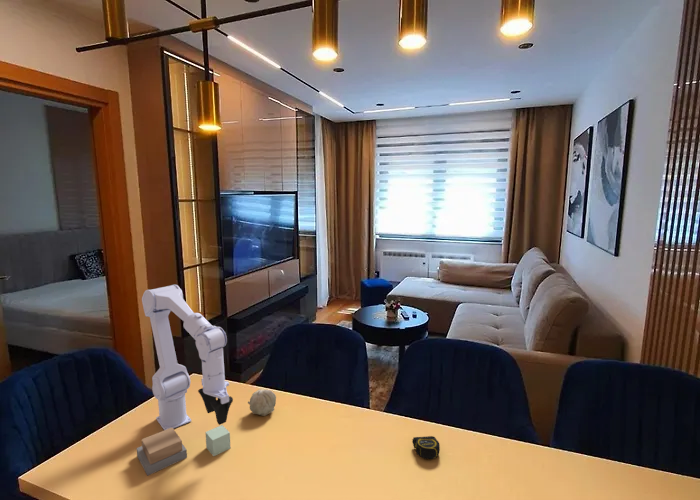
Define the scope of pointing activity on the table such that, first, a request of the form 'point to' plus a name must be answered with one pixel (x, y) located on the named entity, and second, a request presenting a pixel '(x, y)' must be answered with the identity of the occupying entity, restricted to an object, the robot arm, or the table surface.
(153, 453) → the tower top
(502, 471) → the table surface
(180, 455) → the tower base
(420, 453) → the tape measure
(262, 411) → the garlic bulb
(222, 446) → the green cube
